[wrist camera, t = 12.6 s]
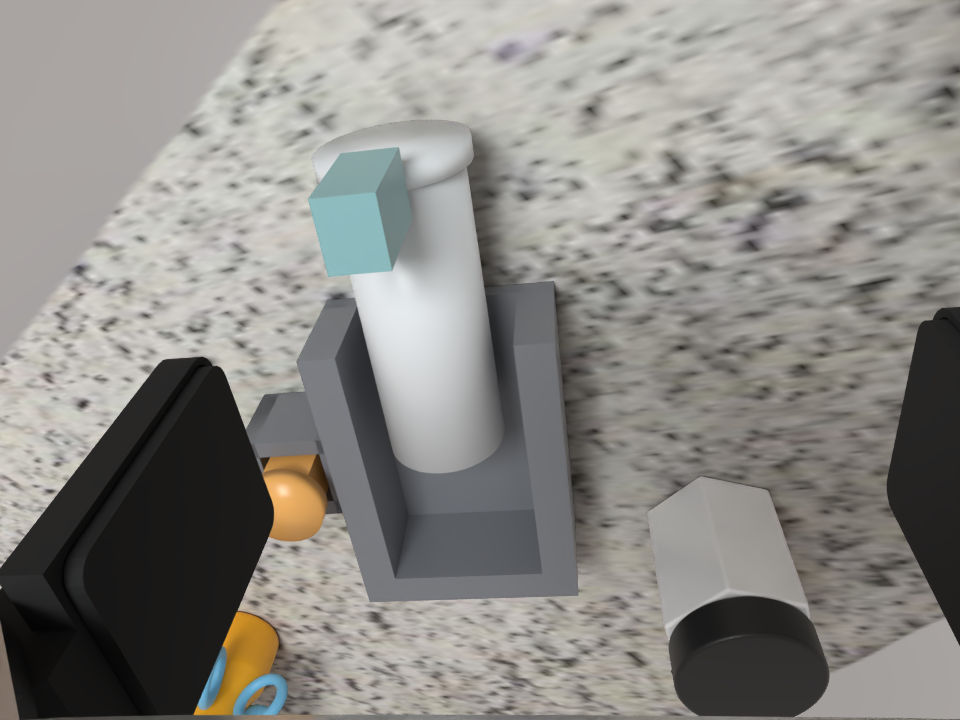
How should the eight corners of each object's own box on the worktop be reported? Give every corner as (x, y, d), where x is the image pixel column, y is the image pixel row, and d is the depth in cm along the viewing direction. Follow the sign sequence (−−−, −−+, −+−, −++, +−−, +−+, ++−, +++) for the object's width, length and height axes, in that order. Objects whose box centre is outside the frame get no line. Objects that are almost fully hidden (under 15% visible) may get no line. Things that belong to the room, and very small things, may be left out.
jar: (628, 552, 54) (646, 712, 44) (666, 465, 49) (697, 620, 39) (752, 577, 54) (798, 741, 44) (801, 493, 50) (866, 653, 40)
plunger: (339, 407, 47) (311, 481, 42) (355, 463, 50) (330, 539, 44) (271, 412, 48) (234, 485, 42) (289, 466, 50) (257, 543, 45)
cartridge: (474, 91, 37) (444, 185, 26) (514, 394, 46) (504, 553, 36) (327, 109, 38) (242, 206, 27) (396, 402, 47) (352, 559, 36)
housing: (553, 281, 43) (554, 342, 37) (575, 519, 52) (578, 595, 47) (234, 308, 45) (192, 369, 40) (310, 530, 55) (284, 604, 49)
